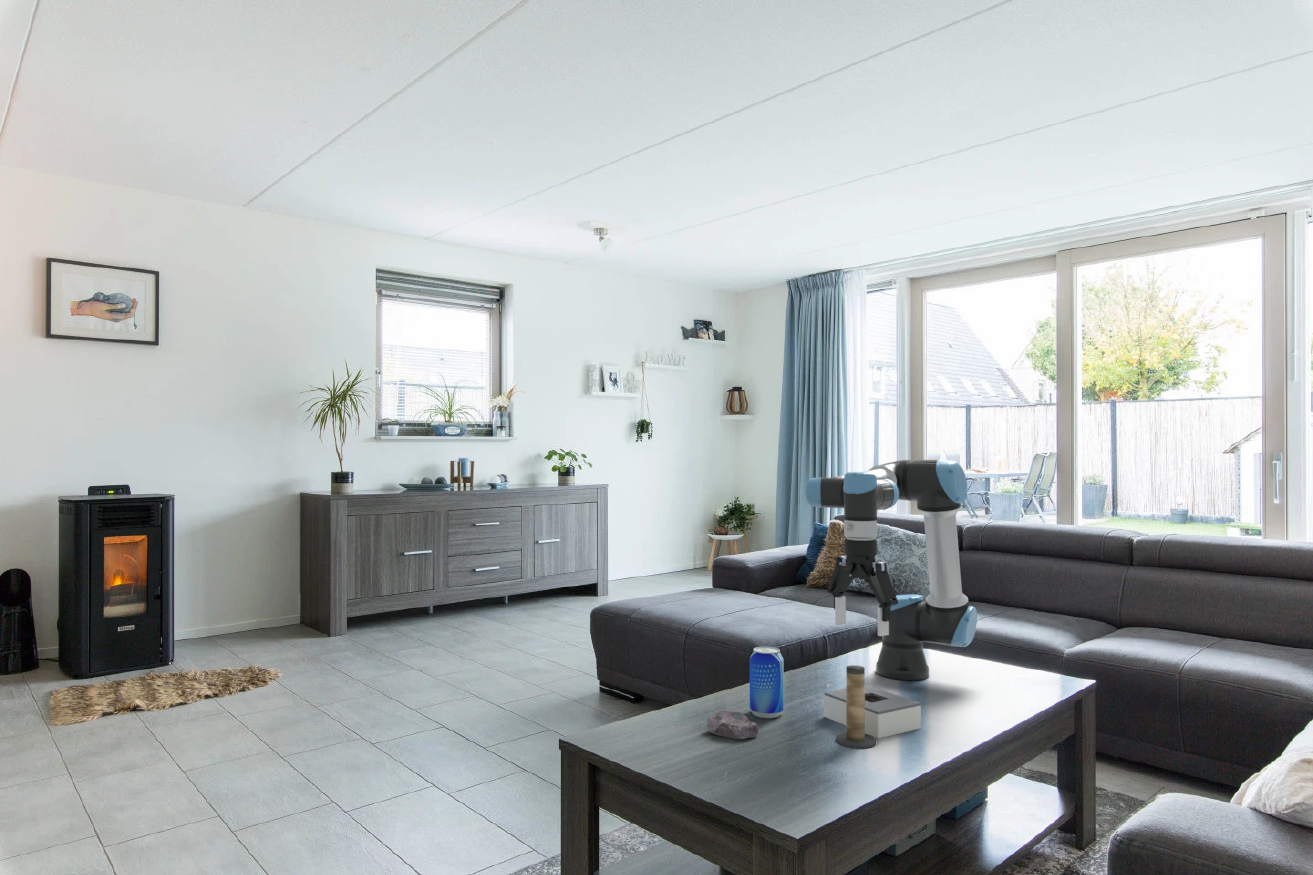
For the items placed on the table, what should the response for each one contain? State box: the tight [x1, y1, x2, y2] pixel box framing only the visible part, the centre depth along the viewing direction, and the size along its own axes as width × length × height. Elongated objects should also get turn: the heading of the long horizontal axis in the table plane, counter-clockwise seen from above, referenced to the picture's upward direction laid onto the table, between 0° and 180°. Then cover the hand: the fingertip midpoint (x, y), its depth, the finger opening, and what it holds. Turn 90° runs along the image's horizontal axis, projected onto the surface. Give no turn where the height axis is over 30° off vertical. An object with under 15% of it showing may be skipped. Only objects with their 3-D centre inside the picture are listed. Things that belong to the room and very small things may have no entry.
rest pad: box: [835, 732, 877, 750], centre depth 186 cm, size 9×9×1 cm
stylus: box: [845, 665, 866, 742], centre depth 186 cm, size 4×4×16 cm
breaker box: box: [823, 684, 922, 739], centre depth 199 cm, size 18×14×6 cm
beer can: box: [749, 646, 785, 719], centre depth 206 cm, size 8×8×16 cm
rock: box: [706, 710, 759, 741], centre depth 191 cm, size 8×11×5 cm
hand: (861, 629), depth 191 cm, fingers open, 13 cm apart
